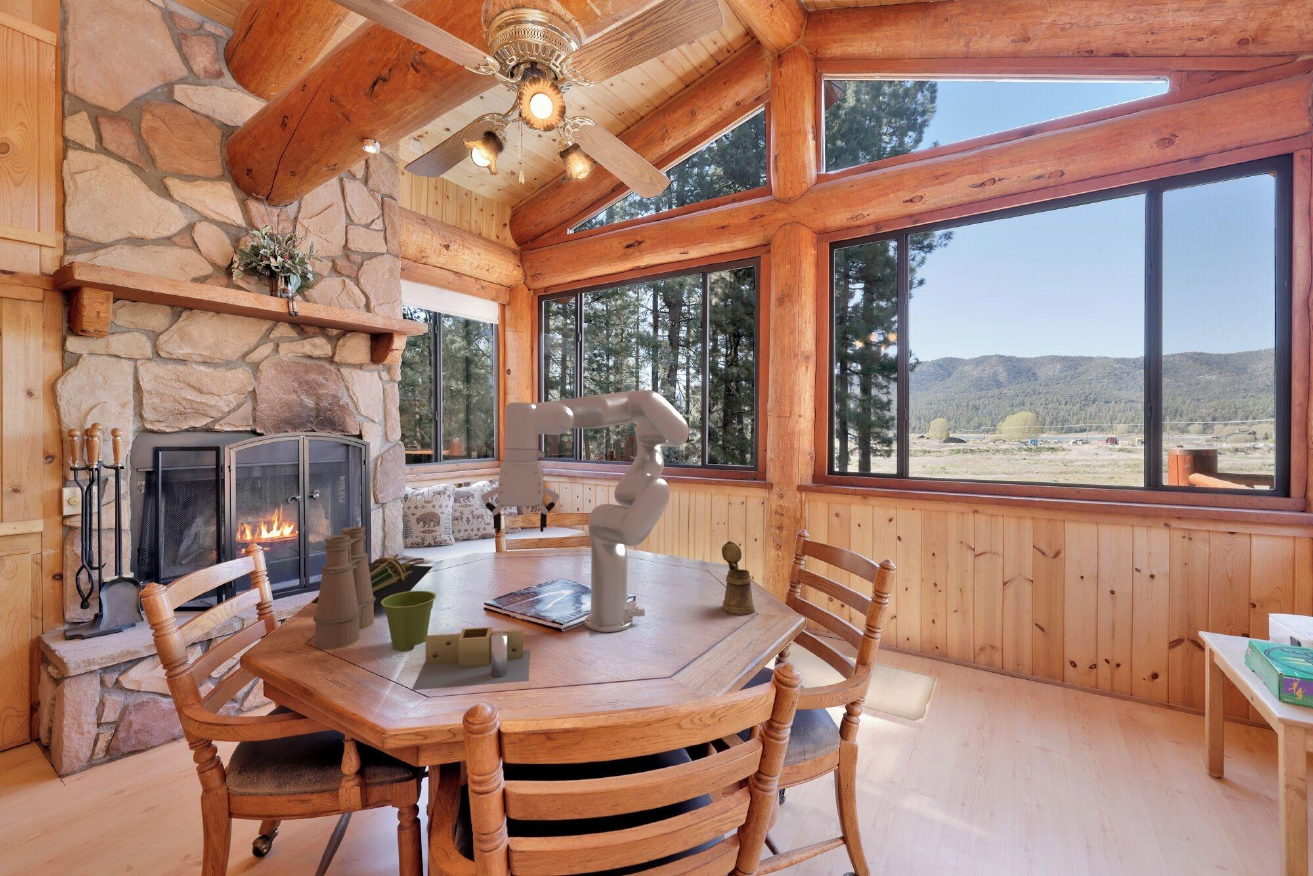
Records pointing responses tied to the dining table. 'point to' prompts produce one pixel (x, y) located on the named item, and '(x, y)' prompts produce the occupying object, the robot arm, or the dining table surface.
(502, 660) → the pin
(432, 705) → the dining table surface
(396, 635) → the plant pot
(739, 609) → the wooden mug
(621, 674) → the dining table surface
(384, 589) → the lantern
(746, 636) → the dining table surface
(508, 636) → the hinge
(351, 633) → the binoculars
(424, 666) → the board
